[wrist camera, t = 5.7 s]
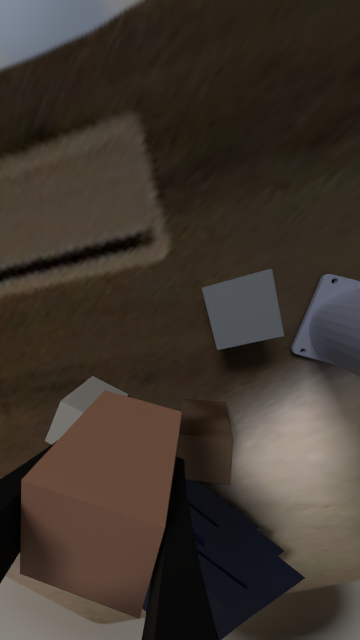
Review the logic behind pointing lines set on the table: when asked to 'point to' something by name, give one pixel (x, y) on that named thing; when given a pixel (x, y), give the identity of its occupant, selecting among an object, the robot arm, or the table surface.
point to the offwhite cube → (77, 406)
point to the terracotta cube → (101, 502)
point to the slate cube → (243, 310)
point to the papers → (234, 561)
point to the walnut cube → (205, 441)
